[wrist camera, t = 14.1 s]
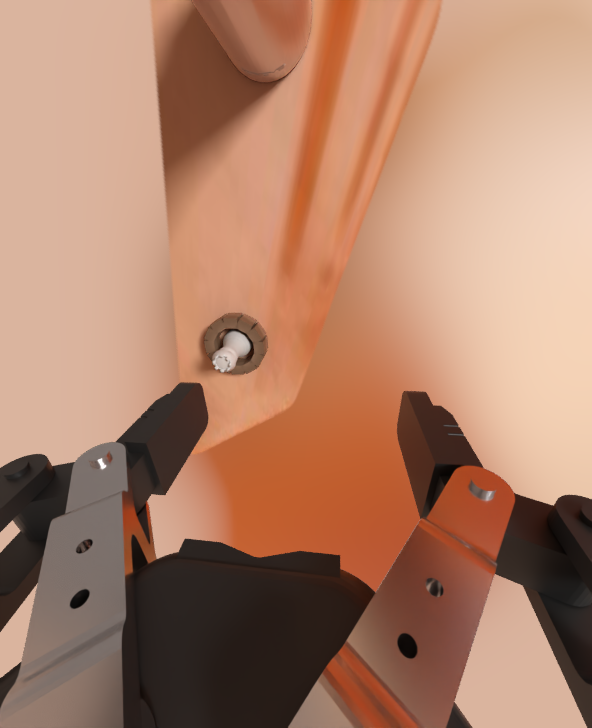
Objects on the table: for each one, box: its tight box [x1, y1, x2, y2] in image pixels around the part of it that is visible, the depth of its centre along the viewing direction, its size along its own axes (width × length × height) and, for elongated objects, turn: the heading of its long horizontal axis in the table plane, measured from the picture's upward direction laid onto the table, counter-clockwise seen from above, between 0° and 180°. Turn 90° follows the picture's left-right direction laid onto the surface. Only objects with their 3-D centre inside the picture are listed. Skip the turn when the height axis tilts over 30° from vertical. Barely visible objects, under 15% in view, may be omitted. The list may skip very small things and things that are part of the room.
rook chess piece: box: [212, 329, 253, 373], centre depth 41 cm, size 4×4×8 cm
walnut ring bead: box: [204, 313, 268, 374], centre depth 43 cm, size 9×9×2 cm
